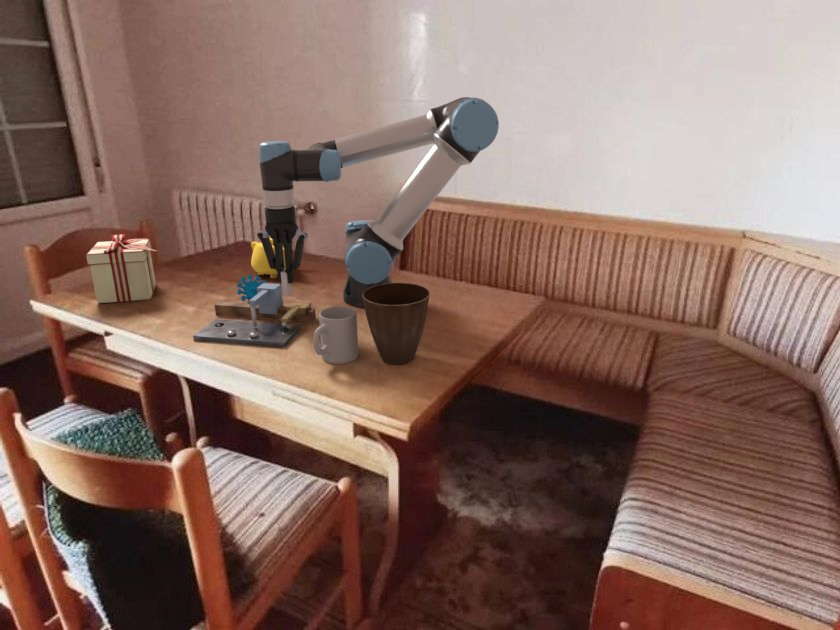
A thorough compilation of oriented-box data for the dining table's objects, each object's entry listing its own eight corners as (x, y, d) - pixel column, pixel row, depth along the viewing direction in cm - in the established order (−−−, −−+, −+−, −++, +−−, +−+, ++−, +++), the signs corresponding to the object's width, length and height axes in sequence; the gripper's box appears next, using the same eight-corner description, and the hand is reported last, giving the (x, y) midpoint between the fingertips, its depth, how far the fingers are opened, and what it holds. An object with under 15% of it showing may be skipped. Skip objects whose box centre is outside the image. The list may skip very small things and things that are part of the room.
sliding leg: (283, 309, 159) (281, 283, 156) (263, 327, 147) (260, 300, 145) (266, 307, 160) (263, 282, 157) (245, 325, 148) (241, 299, 146)
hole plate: (301, 329, 150) (301, 322, 149) (284, 347, 140) (283, 340, 139) (216, 323, 154) (215, 316, 154) (193, 340, 144) (192, 332, 144)
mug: (339, 345, 141) (336, 303, 137) (366, 354, 137) (364, 310, 133) (303, 363, 132) (299, 319, 128) (330, 373, 128) (327, 327, 124)
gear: (243, 305, 162) (233, 274, 165) (237, 315, 166) (227, 285, 169) (279, 301, 169) (270, 272, 172) (273, 311, 173) (263, 282, 176)
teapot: (298, 278, 189) (295, 242, 185) (252, 281, 186) (248, 245, 182) (296, 265, 202) (293, 232, 197) (253, 268, 199) (249, 234, 194)
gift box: (166, 297, 173) (155, 241, 166) (96, 306, 167) (83, 248, 160) (166, 280, 187) (157, 228, 181) (102, 288, 181) (90, 234, 175)
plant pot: (351, 362, 133) (348, 296, 127) (390, 339, 144) (388, 278, 138) (405, 379, 125) (404, 310, 119) (441, 353, 137) (442, 289, 131)
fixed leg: (311, 310, 158) (310, 302, 157) (293, 329, 146) (292, 320, 145) (294, 309, 159) (293, 300, 158) (274, 328, 147) (273, 318, 146)
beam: (315, 318, 157) (315, 308, 156) (312, 322, 155) (311, 311, 154) (220, 311, 162) (218, 301, 161) (215, 315, 160) (214, 304, 159)
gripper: (309, 203, 148) (315, 291, 157) (261, 201, 150) (270, 288, 159) (298, 209, 141) (305, 300, 150) (248, 207, 143) (258, 297, 152)
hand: (287, 294), depth 154 cm, fingers closed
